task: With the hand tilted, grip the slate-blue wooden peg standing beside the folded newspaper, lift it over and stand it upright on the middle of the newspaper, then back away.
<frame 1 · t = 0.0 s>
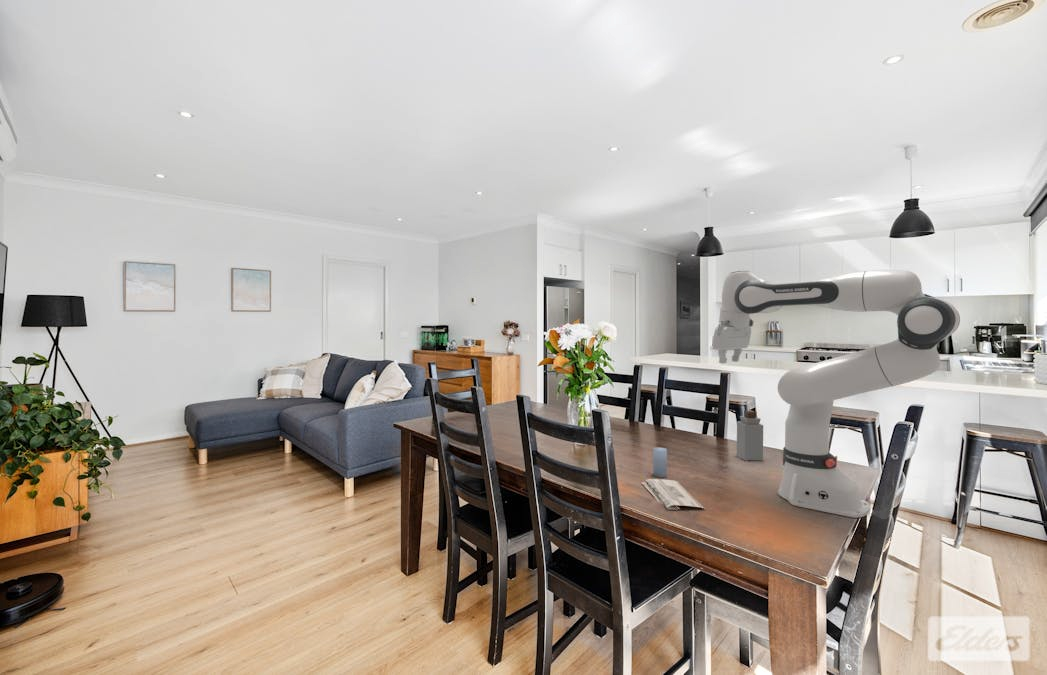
hand: (728, 362, 152), 39 cm above the table, tool pointing down, fingers open, 8 cm apart
blue peg: (659, 475, 157), on the table
perfume bottle: (749, 458, 175), on the table
newspaper: (670, 498, 138), on the table
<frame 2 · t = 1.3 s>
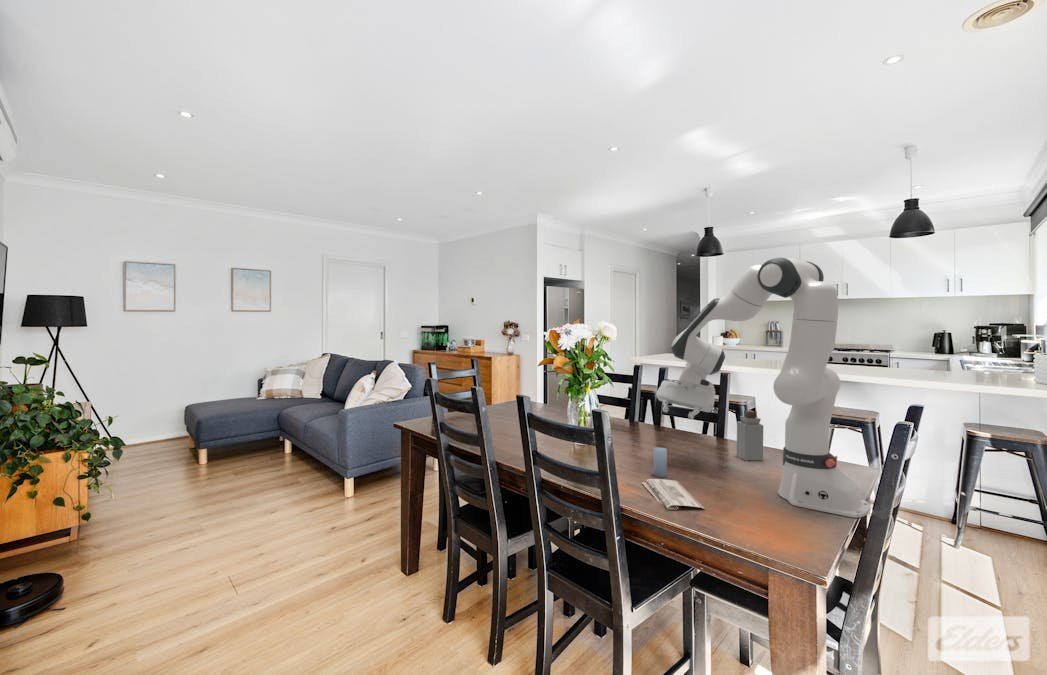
hand: (677, 414, 164), 19 cm above the table, tool tilted 45°, fingers open, 8 cm apart
nothing on the table moved.
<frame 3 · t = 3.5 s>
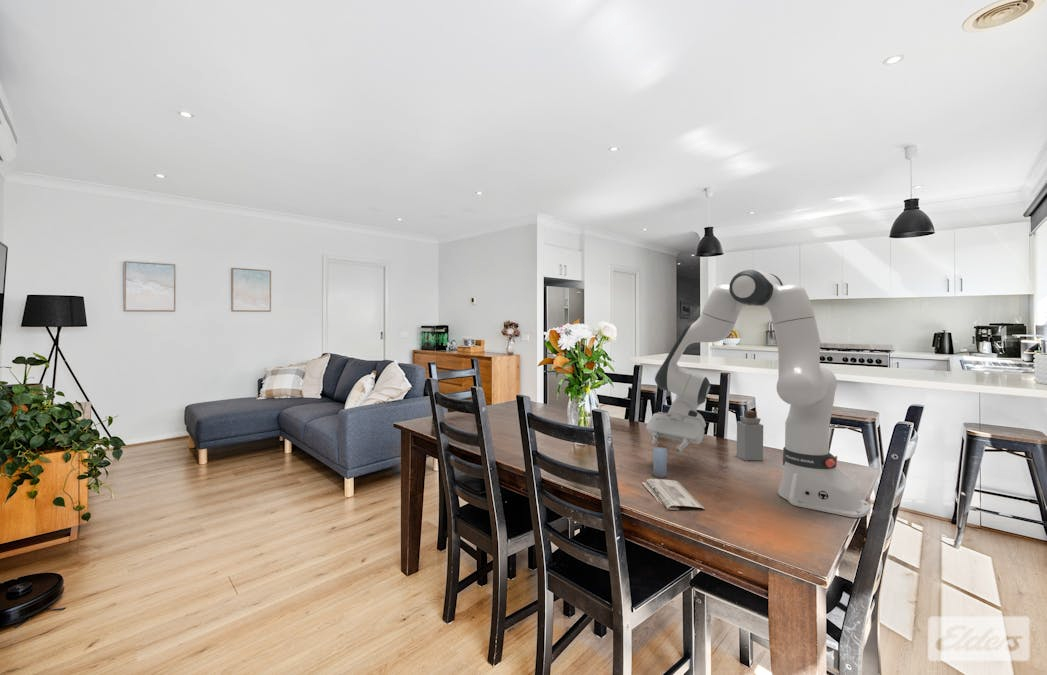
hand: (666, 447, 159), 9 cm above the table, tool tilted 45°, fingers open, 8 cm apart
nothing on the table moved.
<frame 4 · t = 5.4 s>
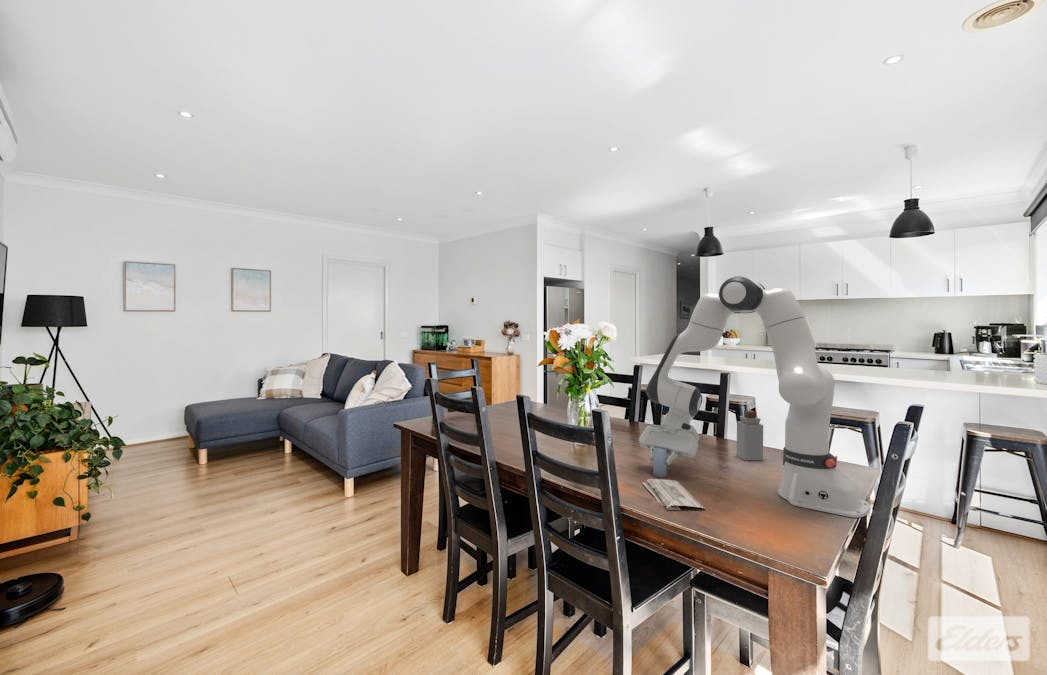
hand: (659, 461, 156), 5 cm above the table, tool tilted 45°, fingers closed on blue peg, 4 cm apart
blue peg: (659, 475, 157), on the table, touching gripper
everything else where it was.
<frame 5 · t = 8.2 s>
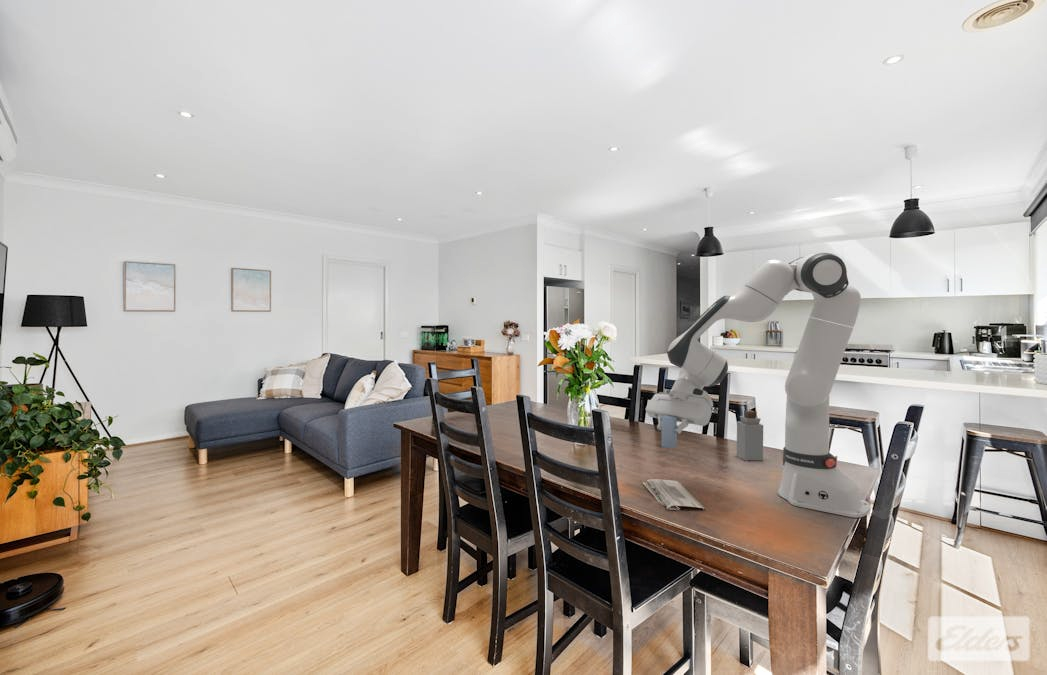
hand: (668, 430, 141), 19 cm above the table, tool tilted 45°, fingers closed on blue peg, 4 cm apart
blue peg: (669, 446, 141), point 14 cm above the table, touching gripper
everything else where it was.
when the fingers open (8 cm above the table, at t = 11.0 s): blue peg drops 2 cm, resting on newspaper.
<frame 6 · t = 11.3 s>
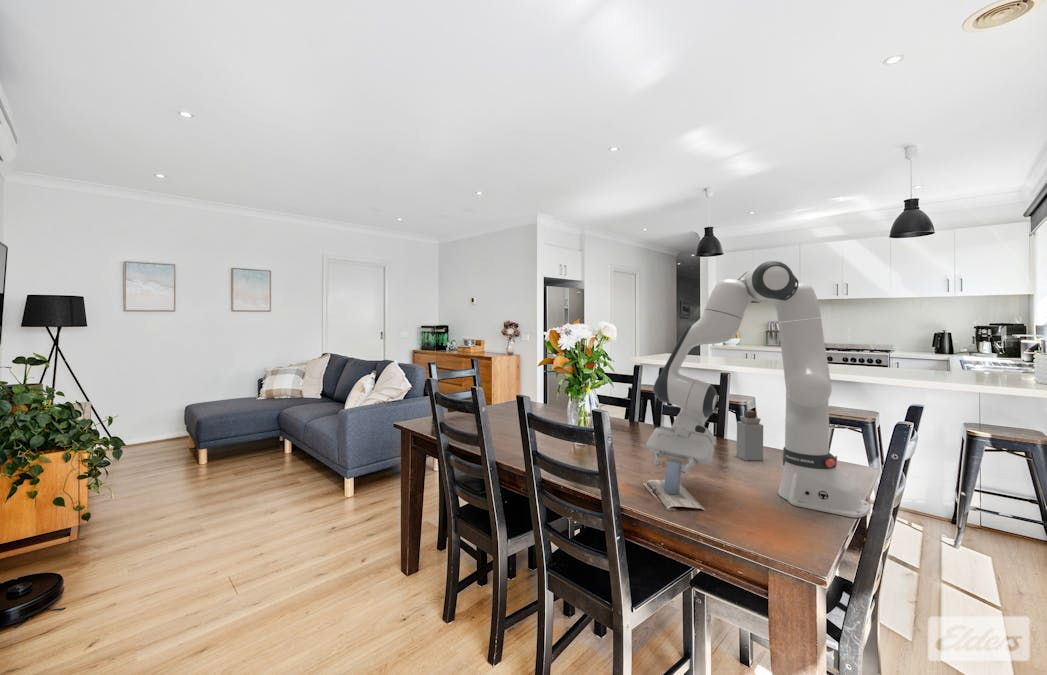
hand: (669, 468, 138), 8 cm above the table, tool tilted 45°, fingers open, 8 cm apart
blue peg: (671, 491, 138), point 1 cm above the table, touching newspaper
newspaper: (671, 499, 138), on the table, touching blue peg
everything else where it was.
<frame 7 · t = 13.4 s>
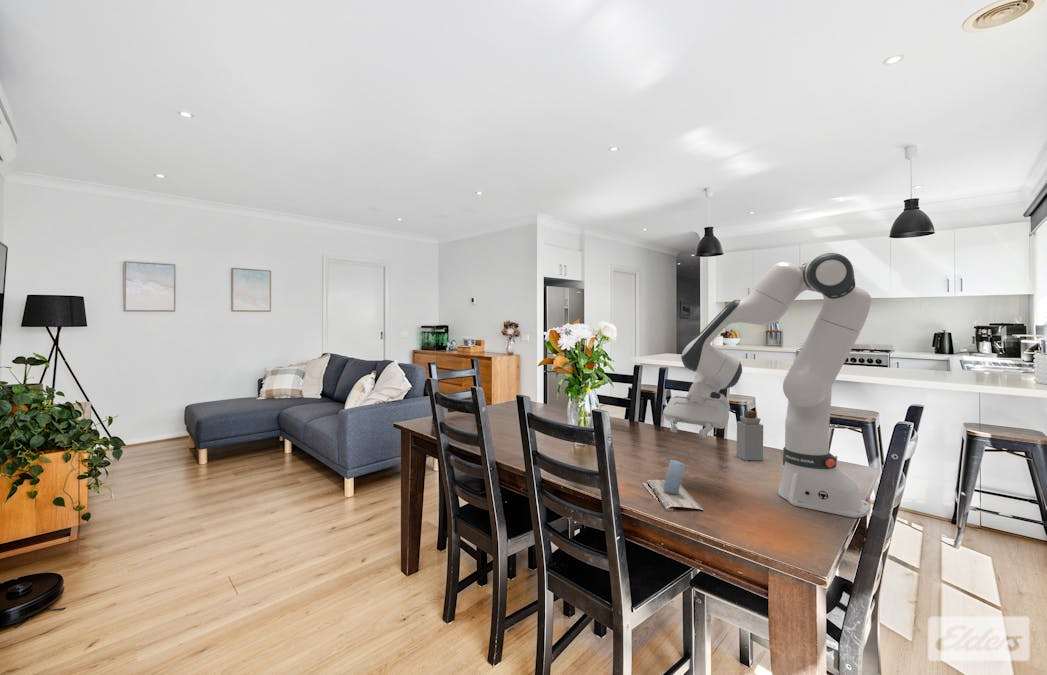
hand: (686, 433, 143), 17 cm above the table, tool tilted 45°, fingers open, 8 cm apart
blue peg: (670, 491, 138), point 1 cm above the table, tilted 14°, touching newspaper
everything else where it was.
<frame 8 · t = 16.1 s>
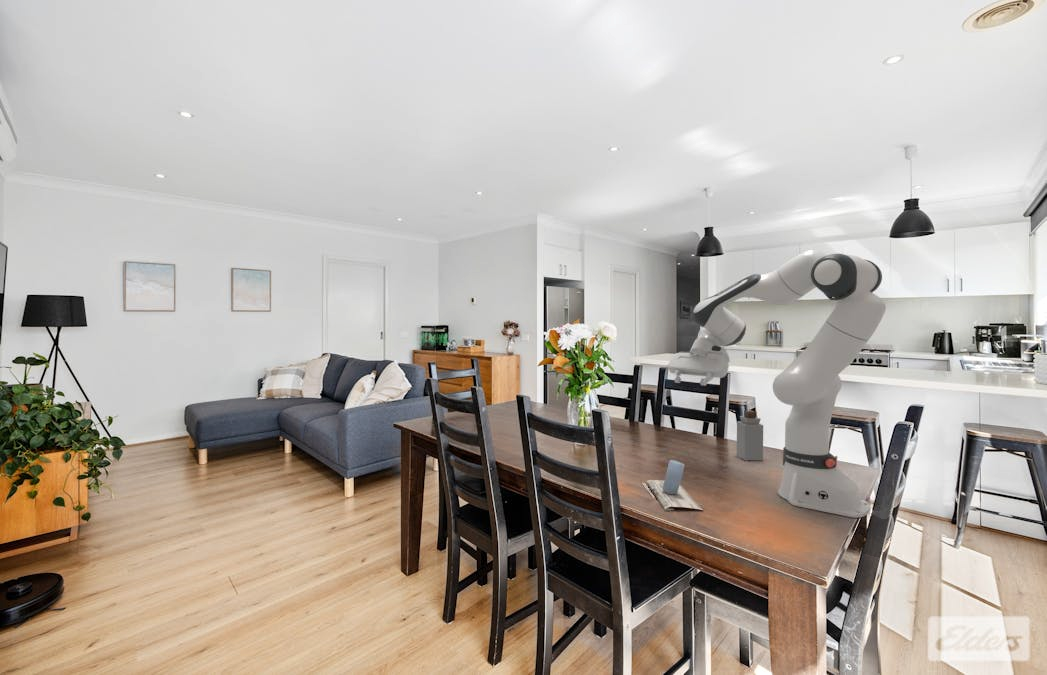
hand: (689, 383, 157), 31 cm above the table, tool tilted 45°, fingers open, 8 cm apart
blue peg: (669, 491, 138), point 1 cm above the table, tilted 14°
newspaper: (670, 500, 138), on the table
everything else where it was.
at the end: blue peg inside the target area on the newspaper (0.4 cm from its centre), point 2.5 cm above the newspaper's base; blue peg tilted 14°; the gripper is holding nothing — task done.
